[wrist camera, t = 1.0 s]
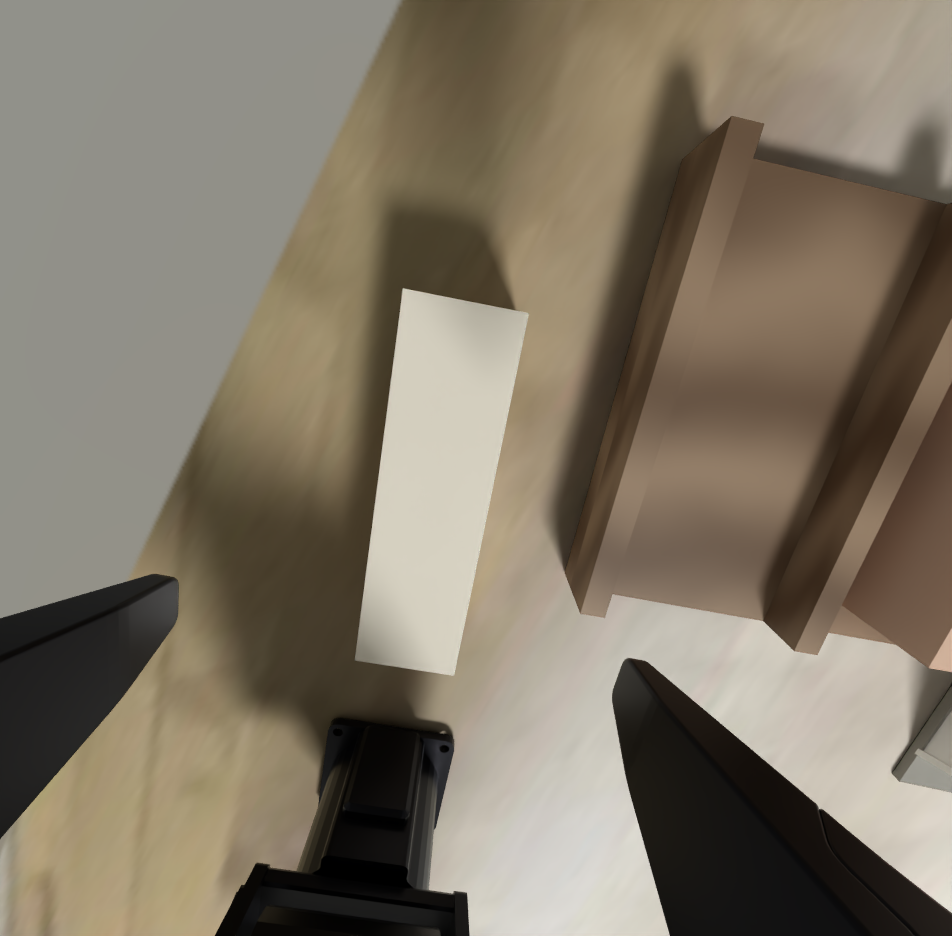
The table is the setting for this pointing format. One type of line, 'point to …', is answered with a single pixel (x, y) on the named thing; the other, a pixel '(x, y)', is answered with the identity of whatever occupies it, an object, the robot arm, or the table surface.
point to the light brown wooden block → (914, 556)
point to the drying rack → (768, 394)
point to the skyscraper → (931, 751)
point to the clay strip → (436, 476)
